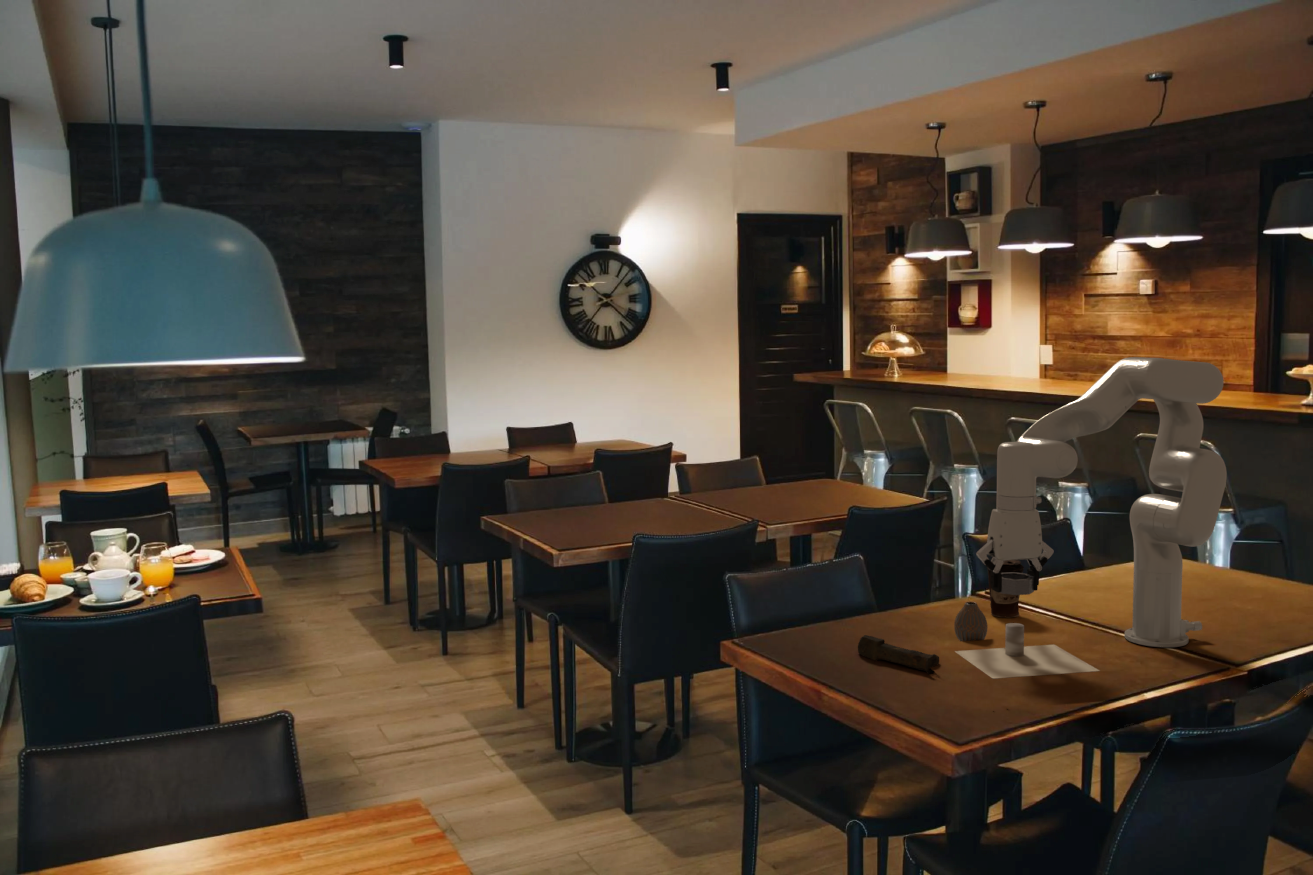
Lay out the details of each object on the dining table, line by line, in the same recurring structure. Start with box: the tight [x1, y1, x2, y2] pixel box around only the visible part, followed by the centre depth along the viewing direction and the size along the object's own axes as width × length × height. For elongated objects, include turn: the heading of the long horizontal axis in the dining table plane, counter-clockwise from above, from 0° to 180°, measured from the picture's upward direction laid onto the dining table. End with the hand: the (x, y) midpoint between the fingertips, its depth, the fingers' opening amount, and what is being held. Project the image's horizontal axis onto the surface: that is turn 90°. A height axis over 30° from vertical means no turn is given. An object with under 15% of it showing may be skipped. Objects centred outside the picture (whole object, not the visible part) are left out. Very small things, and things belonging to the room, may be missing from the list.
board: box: [954, 622, 1101, 679], centre depth 222 cm, size 22×18×8 cm
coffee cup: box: [986, 560, 1025, 618], centre depth 261 cm, size 9×8×13 cm
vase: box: [953, 601, 988, 642], centre depth 240 cm, size 7×7×9 cm
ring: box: [1000, 572, 1035, 596], centre depth 225 cm, size 7×7×3 cm
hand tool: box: [857, 634, 940, 675], centre depth 227 cm, size 19×4×5 cm, turn 40°
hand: (1014, 589), depth 225 cm, fingers closed on ring, 7 cm apart
